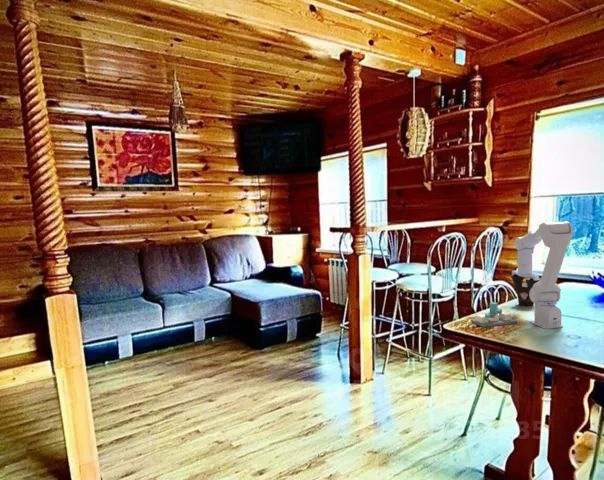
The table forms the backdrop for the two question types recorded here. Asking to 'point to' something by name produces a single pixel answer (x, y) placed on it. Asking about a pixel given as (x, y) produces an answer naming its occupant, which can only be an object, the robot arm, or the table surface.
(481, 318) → the display stand
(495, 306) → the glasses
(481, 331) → the table surface
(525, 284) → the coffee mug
